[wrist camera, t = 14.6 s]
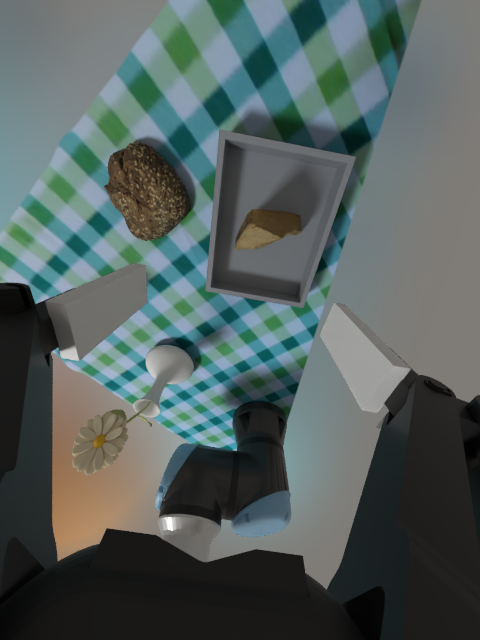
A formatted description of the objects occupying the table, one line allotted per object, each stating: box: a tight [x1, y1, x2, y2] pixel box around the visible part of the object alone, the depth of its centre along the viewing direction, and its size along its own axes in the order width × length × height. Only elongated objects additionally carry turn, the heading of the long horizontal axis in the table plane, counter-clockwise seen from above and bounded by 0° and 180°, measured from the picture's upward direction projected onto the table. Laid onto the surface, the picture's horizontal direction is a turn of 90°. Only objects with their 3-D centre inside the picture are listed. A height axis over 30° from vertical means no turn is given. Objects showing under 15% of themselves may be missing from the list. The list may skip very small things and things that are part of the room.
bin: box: [206, 130, 356, 308], centre depth 33 cm, size 22×18×4 cm
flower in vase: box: [72, 345, 194, 475], centre depth 39 cm, size 13×11×25 cm
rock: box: [235, 209, 301, 250], centre depth 31 cm, size 11×9×10 cm
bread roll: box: [104, 142, 190, 241], centre depth 31 cm, size 13×12×5 cm
